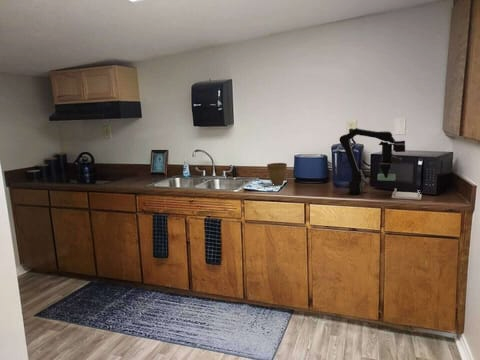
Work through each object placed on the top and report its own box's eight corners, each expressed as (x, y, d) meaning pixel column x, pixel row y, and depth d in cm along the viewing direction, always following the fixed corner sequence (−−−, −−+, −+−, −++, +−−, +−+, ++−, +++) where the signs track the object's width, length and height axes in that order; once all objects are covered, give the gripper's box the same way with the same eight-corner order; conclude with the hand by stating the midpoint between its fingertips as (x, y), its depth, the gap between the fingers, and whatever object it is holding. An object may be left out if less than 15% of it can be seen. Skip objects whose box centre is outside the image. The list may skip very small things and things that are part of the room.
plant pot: (289, 183, 274) (289, 162, 271) (283, 187, 261) (283, 165, 258) (271, 182, 281) (270, 162, 278) (264, 186, 267) (264, 165, 264)
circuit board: (377, 180, 222) (377, 175, 221) (378, 178, 227) (378, 173, 226) (394, 180, 217) (395, 175, 216) (395, 178, 222) (395, 174, 222)
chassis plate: (391, 197, 217) (392, 192, 216) (393, 193, 227) (393, 187, 227) (421, 199, 210) (421, 193, 209) (421, 194, 220) (421, 189, 220)
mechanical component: (367, 193, 231) (367, 178, 229) (354, 190, 239) (354, 176, 237) (370, 192, 233) (370, 177, 231) (356, 190, 241) (357, 175, 239)
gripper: (400, 154, 207) (400, 180, 210) (401, 150, 223) (401, 174, 226) (380, 154, 212) (379, 179, 215) (382, 150, 228) (382, 174, 231)
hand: (386, 176), depth 222 cm, fingers closed on circuit board, 6 cm apart
